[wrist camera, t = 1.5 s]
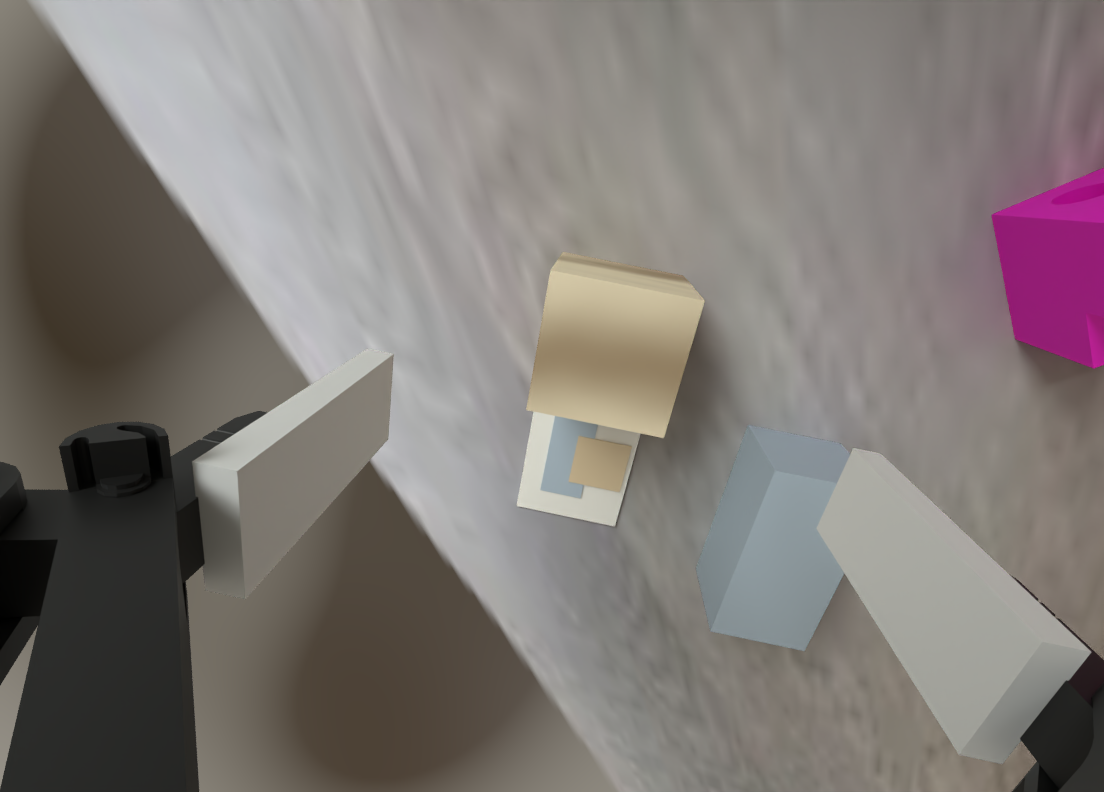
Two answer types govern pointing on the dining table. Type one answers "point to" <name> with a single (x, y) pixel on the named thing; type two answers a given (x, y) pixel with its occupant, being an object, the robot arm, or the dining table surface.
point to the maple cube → (613, 344)
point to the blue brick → (772, 540)
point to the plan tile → (576, 468)
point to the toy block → (1057, 268)
